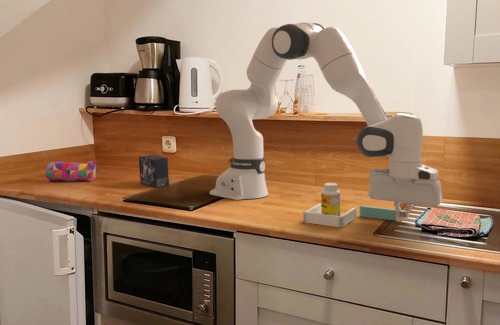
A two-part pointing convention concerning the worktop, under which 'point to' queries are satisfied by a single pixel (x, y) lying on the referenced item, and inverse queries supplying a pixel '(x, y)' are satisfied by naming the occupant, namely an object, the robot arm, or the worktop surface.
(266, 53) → the robot arm
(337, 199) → the supplement bottle
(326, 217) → the tray
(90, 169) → the pencil case
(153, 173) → the small box
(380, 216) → the teal flat bar
